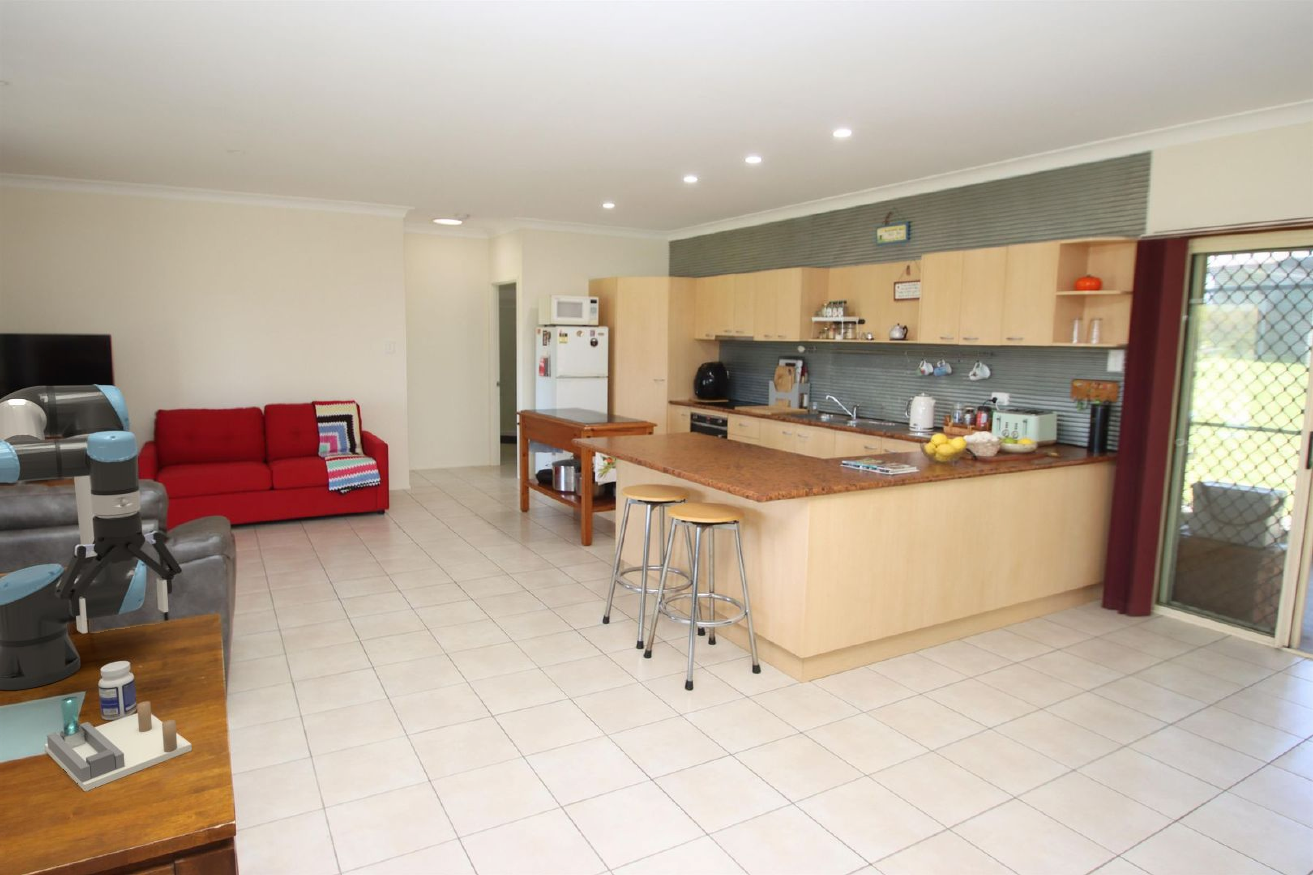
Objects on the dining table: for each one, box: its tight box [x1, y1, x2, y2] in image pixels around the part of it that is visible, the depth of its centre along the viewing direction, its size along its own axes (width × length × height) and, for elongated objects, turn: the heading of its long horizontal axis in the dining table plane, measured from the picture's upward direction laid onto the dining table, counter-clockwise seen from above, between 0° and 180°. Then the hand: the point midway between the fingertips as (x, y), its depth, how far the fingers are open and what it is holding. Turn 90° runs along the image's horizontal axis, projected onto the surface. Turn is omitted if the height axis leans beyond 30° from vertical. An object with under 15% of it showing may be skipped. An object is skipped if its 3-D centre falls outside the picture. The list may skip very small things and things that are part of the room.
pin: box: [58, 696, 85, 748], centre depth 134 cm, size 3×3×8 cm
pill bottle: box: [97, 660, 138, 721], centre depth 147 cm, size 6×6×10 cm
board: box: [44, 701, 193, 792], centre depth 134 cm, size 20×16×6 cm
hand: (124, 620), depth 145 cm, fingers open, 13 cm apart
